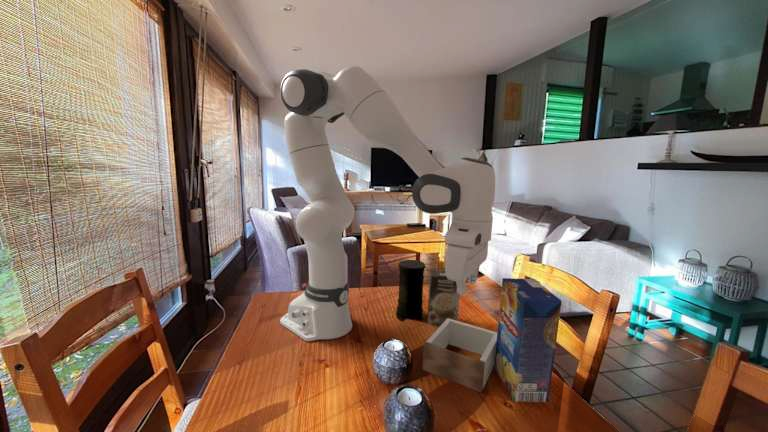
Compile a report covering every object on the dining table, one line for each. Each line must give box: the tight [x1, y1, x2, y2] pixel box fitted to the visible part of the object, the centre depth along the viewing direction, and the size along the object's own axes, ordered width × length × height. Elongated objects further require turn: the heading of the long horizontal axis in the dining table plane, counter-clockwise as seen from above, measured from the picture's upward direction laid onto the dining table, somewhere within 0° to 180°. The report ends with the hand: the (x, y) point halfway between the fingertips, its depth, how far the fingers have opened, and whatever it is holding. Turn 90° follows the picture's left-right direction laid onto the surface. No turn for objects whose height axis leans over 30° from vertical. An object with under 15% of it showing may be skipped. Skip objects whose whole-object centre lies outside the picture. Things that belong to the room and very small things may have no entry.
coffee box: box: [426, 268, 461, 327], centre depth 104 cm, size 9×6×16 cm
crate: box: [425, 318, 497, 389], centre depth 82 cm, size 14×14×8 cm
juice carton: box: [493, 277, 563, 403], centre depth 74 cm, size 12×8×24 cm, turn 1°
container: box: [395, 259, 426, 322], centre depth 107 cm, size 9×9×18 cm
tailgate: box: [422, 341, 485, 393], centre depth 76 cm, size 14×1×7 cm, turn 58°
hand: (466, 287), depth 78 cm, fingers open, 6 cm apart
